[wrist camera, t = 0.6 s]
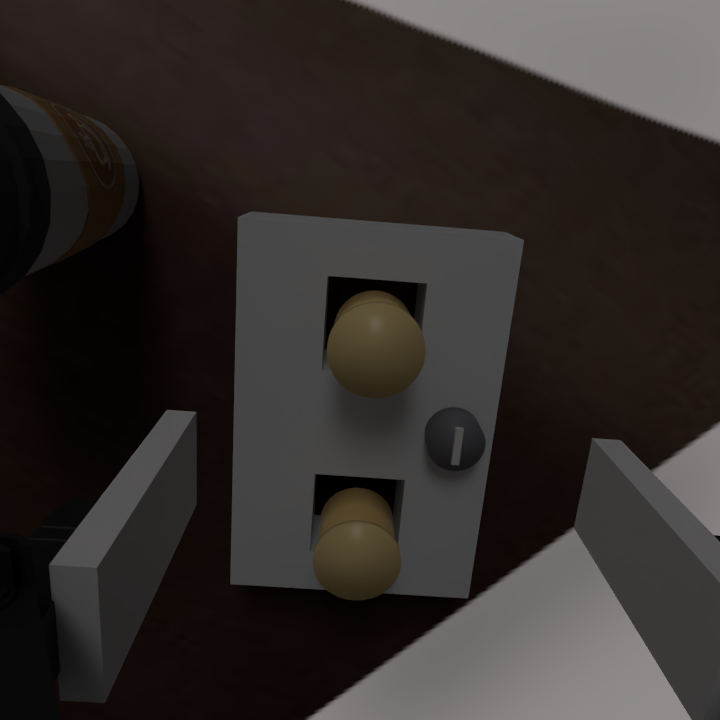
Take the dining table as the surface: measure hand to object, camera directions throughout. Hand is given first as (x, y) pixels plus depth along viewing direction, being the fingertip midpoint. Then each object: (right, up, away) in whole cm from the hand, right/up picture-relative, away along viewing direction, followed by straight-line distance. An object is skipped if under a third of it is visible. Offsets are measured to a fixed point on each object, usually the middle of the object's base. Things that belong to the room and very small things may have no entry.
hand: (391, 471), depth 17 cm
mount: (-1, +1, +21) cm, 21 cm away
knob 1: (0, +4, +15) cm, 16 cm away
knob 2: (-1, -6, +18) cm, 19 cm away
